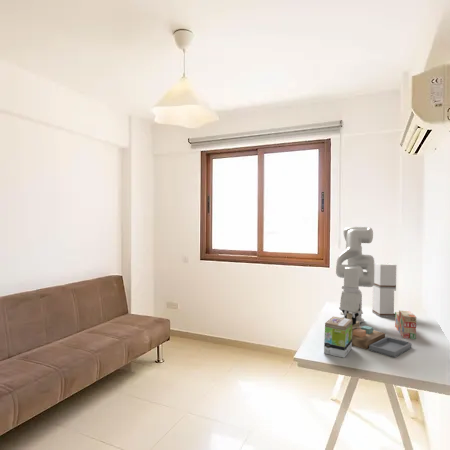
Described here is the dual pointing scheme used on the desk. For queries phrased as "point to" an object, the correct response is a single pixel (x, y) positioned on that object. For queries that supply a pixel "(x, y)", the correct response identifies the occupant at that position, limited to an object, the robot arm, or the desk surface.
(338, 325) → the tea box
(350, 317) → the scraper
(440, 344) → the desk surface
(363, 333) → the terracotta tile
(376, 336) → the brown wooden board
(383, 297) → the tall white pillar
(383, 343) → the box
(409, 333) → the stack of blocks
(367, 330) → the teal block
